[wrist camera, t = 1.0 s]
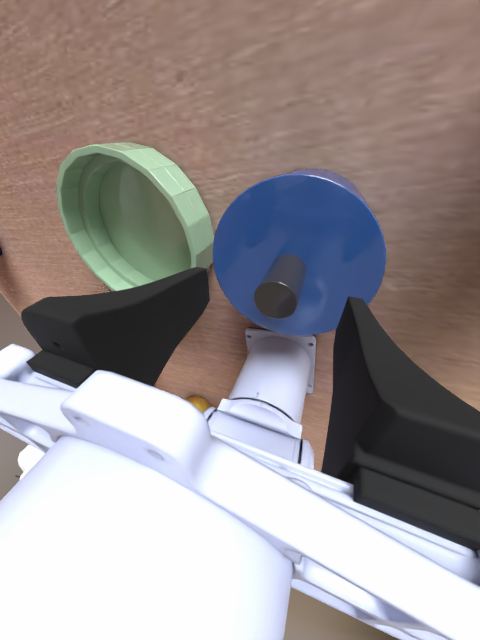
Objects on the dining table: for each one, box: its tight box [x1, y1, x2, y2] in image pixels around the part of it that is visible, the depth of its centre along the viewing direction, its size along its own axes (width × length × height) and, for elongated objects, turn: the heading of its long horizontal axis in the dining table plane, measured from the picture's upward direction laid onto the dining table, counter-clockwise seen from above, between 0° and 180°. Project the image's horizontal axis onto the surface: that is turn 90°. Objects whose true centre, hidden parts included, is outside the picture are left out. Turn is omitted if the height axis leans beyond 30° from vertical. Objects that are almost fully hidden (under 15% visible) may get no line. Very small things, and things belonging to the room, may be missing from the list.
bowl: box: [56, 142, 214, 291], centre depth 23 cm, size 14×14×4 cm
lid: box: [213, 173, 386, 336], centre depth 14 cm, size 11×11×5 cm
